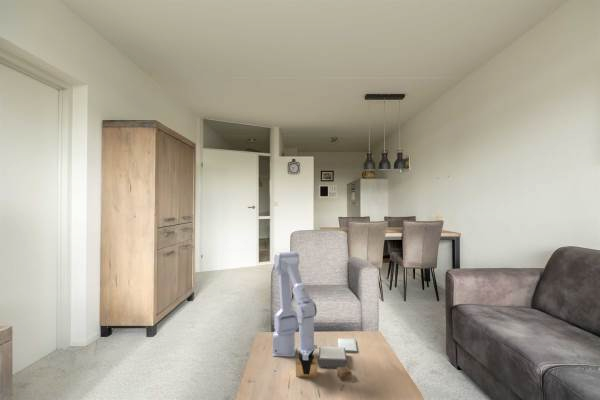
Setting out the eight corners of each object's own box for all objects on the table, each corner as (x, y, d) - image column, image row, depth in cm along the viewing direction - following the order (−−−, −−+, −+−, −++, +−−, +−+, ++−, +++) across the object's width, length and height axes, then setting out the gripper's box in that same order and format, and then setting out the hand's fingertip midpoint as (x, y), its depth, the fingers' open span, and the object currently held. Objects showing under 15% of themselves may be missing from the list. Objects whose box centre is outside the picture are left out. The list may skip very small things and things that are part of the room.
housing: (295, 377, 112) (295, 363, 113) (296, 371, 116) (296, 358, 117) (317, 377, 112) (317, 364, 112) (317, 372, 116) (317, 359, 116)
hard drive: (357, 350, 131) (355, 338, 143) (338, 349, 132) (337, 337, 144) (357, 354, 131) (355, 342, 143) (338, 353, 132) (337, 341, 144)
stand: (319, 367, 119) (318, 358, 119) (319, 354, 130) (319, 346, 130) (346, 368, 118) (346, 359, 118) (345, 354, 129) (344, 346, 129)
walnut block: (341, 381, 109) (341, 373, 110) (337, 375, 113) (337, 367, 113) (351, 379, 110) (351, 371, 111) (346, 374, 114) (346, 366, 114)
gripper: (316, 342, 107) (316, 381, 107) (317, 327, 122) (317, 361, 121) (296, 342, 108) (297, 380, 107) (300, 326, 122) (300, 360, 122)
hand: (306, 370), depth 114 cm, fingers closed on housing, 4 cm apart
